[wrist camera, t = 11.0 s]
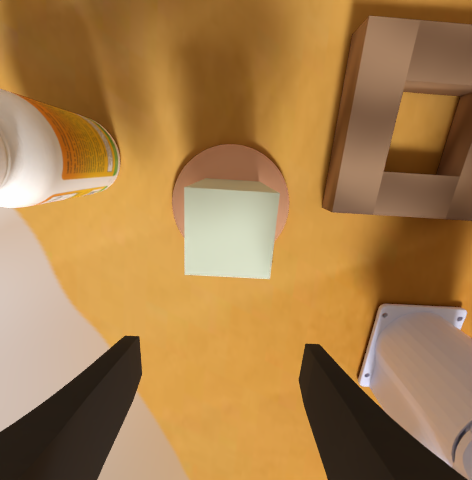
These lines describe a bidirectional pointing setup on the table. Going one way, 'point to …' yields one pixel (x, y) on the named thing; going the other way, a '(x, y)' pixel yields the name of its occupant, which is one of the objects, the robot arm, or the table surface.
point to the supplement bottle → (51, 153)
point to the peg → (229, 228)
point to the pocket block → (385, 113)
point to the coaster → (231, 176)
